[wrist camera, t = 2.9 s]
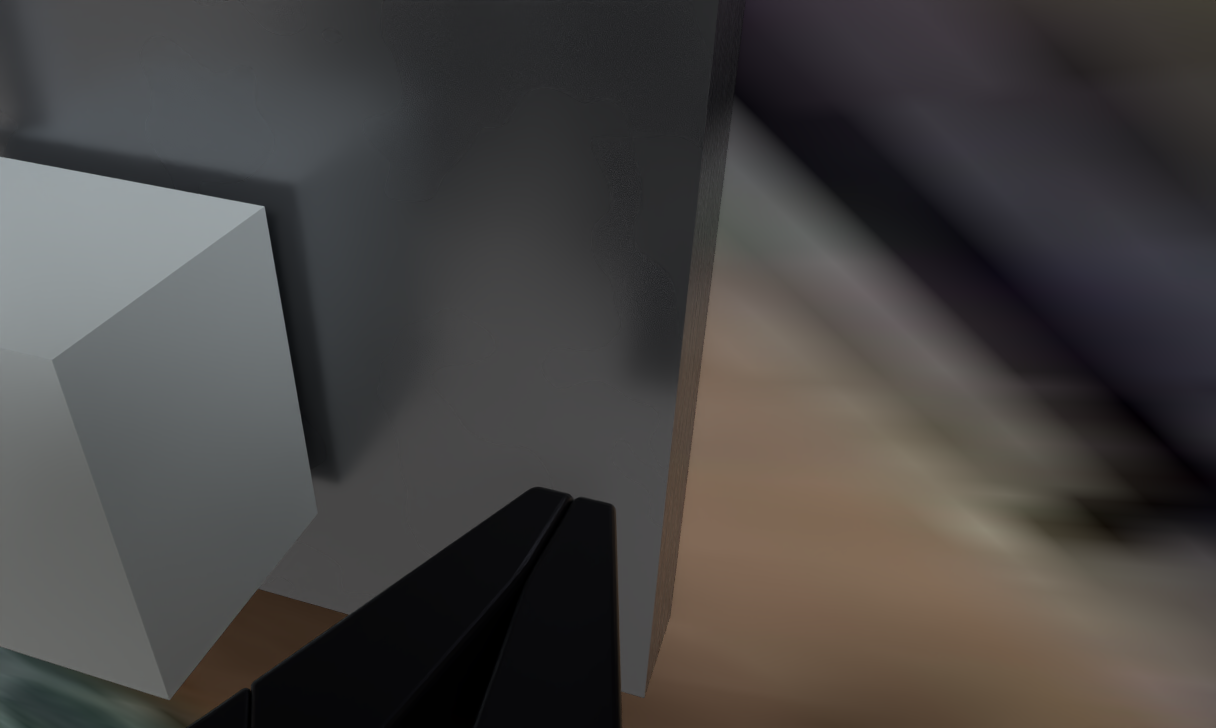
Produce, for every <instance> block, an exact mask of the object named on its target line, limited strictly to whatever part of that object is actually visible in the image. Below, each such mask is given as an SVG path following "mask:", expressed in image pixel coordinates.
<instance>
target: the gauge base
mask: <svg viewBox="0 0 1216 728" xmlns="http://www.w3.org/2000/svg"><path fill="white" fill-rule="evenodd" d="M744 8H745V0H0V157H4V158H10V159H15V160H20V161H26V162H31V163H36V164H42V165H47V166H52V167H57V168H63V169H68V170H73V171H79V172H84V173H89V174H95V175H100V176H105V177H111V178H116V179H121V180H127V181H132V182H137V183H143V184H148V185H153V186H158V187H164V188H169V189H174V190H180V191H185V192H190V193H196V194H201V195H206V196H212V197H217V198H222V199H228V200H233V201H238V202H244V203H249V204H254V205H259V206H264V207H265V213H266V218H267V224H268V230H269V236H270V241H271V247H272V253H273V259H274V264H275V270H276V276H277V282H278V287H279V293H280V299H281V305H282V311H283V316H284V322H285V328H286V334H287V339H288V345H289V351H290V357H291V362H292V368H293V374H294V380H295V385H296V391H297V397H298V403H299V408H300V414H301V420H302V426H303V431H304V437H305V443H306V449H307V454H308V460H309V466H310V472H311V477H312V483H313V489H314V495H315V500H316V506H317V512H318V514H317V515H316V516H315V517H314V519H313V520H312V521H311V523H310V524H309V525H308V526H307V528H306V529H305V530H304V531H303V533H302V534H301V535H300V536H299V538H298V539H297V540H296V541H295V543H294V544H293V545H292V546H291V548H290V549H289V550H288V552H287V553H286V554H285V555H284V557H283V558H282V559H281V560H280V562H279V563H278V564H277V565H276V567H275V568H274V569H273V570H272V572H271V573H270V574H269V575H268V577H267V578H266V579H265V581H264V582H263V583H262V584H261V586H260V587H259V588H258V589H261V590H264V591H268V592H271V593H275V594H278V595H282V596H285V597H289V598H292V599H296V600H299V601H303V602H307V603H310V604H314V605H317V606H321V607H324V608H328V609H331V610H335V611H338V612H342V613H345V614H349V615H350V614H351V613H353V612H354V611H355V610H357V609H358V608H360V607H361V606H363V605H364V604H365V603H367V602H368V601H370V600H371V599H373V598H374V597H375V596H377V595H378V594H380V593H381V592H383V591H384V590H385V589H387V588H388V587H390V586H391V585H393V584H394V583H396V582H397V581H398V580H400V579H401V578H403V577H404V576H406V575H407V574H408V573H410V572H411V571H413V570H414V569H416V568H417V567H418V566H420V565H421V564H423V563H424V562H426V561H427V560H428V559H430V558H431V557H433V556H434V555H436V554H437V553H438V552H440V551H441V550H443V549H444V548H446V547H447V546H448V545H450V544H451V543H453V542H454V541H456V540H457V539H459V538H460V537H461V536H463V535H464V534H466V533H467V532H469V531H470V530H471V529H473V528H474V527H476V526H477V525H479V524H480V523H481V522H483V521H484V520H486V519H487V518H489V517H490V516H491V515H493V514H494V513H496V512H497V511H499V510H500V509H501V508H503V507H504V506H506V505H507V504H509V503H510V502H511V501H513V500H514V499H516V498H517V497H519V496H520V495H521V494H523V493H524V492H526V491H527V490H529V489H531V488H533V487H544V488H548V489H552V490H556V491H561V492H565V493H568V494H570V495H571V496H572V497H573V498H574V499H576V498H578V497H586V498H590V499H594V500H598V501H603V502H607V503H610V504H612V505H614V507H615V509H616V524H617V559H618V595H619V631H620V666H621V692H625V693H628V694H632V695H635V696H639V697H642V698H644V697H645V694H646V691H647V688H648V685H649V682H650V679H651V675H652V672H653V669H654V666H655V663H656V660H657V657H658V653H659V650H660V647H661V644H662V641H663V638H664V634H665V631H666V628H667V625H668V622H669V619H670V614H671V606H672V598H673V590H674V582H675V573H676V565H677V557H678V549H679V541H680V532H681V524H682V516H683V508H684V500H685V491H686V483H687V475H688V467H689V459H690V450H691V442H692V434H693V426H694V418H695V409H696V401H697V393H698V385H699V377H700V368H701V360H702V352H703V344H704V336H705V327H706V319H707V311H708V303H709V295H710V286H711V278H712V270H713V262H714V254H715V245H716V237H717V229H718V221H719V213H720V205H721V196H722V188H723V180H724V172H725V164H726V155H727V147H728V139H729V131H730V123H731V114H732V106H733V98H734V90H735V82H736V73H737V65H738V57H739V49H740V41H741V32H742V24H743V16H744Z"/></svg>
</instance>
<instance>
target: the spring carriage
mask: <svg viewBox="0 0 1216 728" xmlns="http://www.w3.org/2000/svg"><path fill="white" fill-rule="evenodd" d="M317 514H318V512H317V506H316V500H315V495H314V489H313V483H312V477H311V472H310V466H309V460H308V454H307V449H306V443H305V437H304V431H303V426H302V420H301V414H300V408H299V403H298V397H297V391H296V385H295V380H294V374H293V368H292V362H291V357H290V351H289V345H288V339H287V334H286V328H285V322H284V316H283V311H282V305H281V299H280V293H279V287H278V282H277V276H276V270H275V264H274V259H273V253H272V247H271V241H270V236H269V230H268V224H267V218H266V213H265V207H264V206H259V205H254V204H249V203H244V202H238V201H233V200H228V199H222V198H217V197H212V196H206V195H201V194H196V193H190V192H185V191H180V190H174V189H169V188H164V187H158V186H153V185H148V184H143V183H137V182H132V181H127V180H121V179H116V178H111V177H105V176H100V175H95V174H89V173H84V172H79V171H73V170H68V169H63V168H57V167H52V166H47V165H42V164H36V163H31V162H26V161H20V160H15V159H10V158H4V157H0V647H3V648H6V649H10V650H13V651H16V652H19V653H22V654H25V655H28V656H32V657H35V658H38V659H41V660H44V661H47V662H51V663H54V664H57V665H60V666H63V667H66V668H69V669H73V670H76V671H79V672H82V673H85V674H88V675H92V676H95V677H98V678H101V679H104V680H107V681H110V682H114V683H117V684H120V685H123V686H126V687H129V688H132V689H136V690H139V691H142V692H145V693H148V694H151V695H155V696H158V697H161V698H164V699H167V700H170V699H171V698H172V697H173V695H174V694H175V693H176V691H177V690H178V689H179V688H180V686H181V685H182V684H183V683H184V681H185V680H186V679H187V678H188V676H189V675H190V674H191V673H192V671H193V670H194V669H195V668H196V666H197V665H198V664H199V662H200V661H201V660H202V659H203V657H204V656H205V655H206V654H207V652H208V651H209V650H210V649H211V647H212V646H213V645H214V644H215V642H216V641H217V640H218V639H219V637H220V636H221V635H222V633H223V632H224V631H225V630H226V628H227V627H228V626H229V625H230V623H231V622H232V621H233V620H234V618H235V617H236V616H237V615H238V613H239V612H240V611H241V610H242V608H243V607H244V606H245V604H246V603H247V602H248V601H249V599H250V598H251V597H252V596H253V594H254V593H255V592H256V591H257V589H258V588H259V587H260V586H261V584H262V583H263V582H264V581H265V579H266V578H267V577H268V575H269V574H270V573H271V572H272V570H273V569H274V568H275V567H276V565H277V564H278V563H279V562H280V560H281V559H282V558H283V557H284V555H285V554H286V553H287V552H288V550H289V549H290V548H291V546H292V545H293V544H294V543H295V541H296V540H297V539H298V538H299V536H300V535H301V534H302V533H303V531H304V530H305V529H306V528H307V526H308V525H309V524H310V523H311V521H312V520H313V519H314V517H315V516H316V515H317Z"/></svg>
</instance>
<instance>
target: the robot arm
mask: <svg viewBox="0 0 1216 728" xmlns="http://www.w3.org/2000/svg"><path fill="white" fill-rule="evenodd" d="M186 728H622V702H621V666H620V631H619V595H618V559H617V524H616V509H615V507H614V505H612V504H610V503H607V502H603V501H598V500H594V499H590V498H586V497H578V498H576V499H574V498H573V497H572V496H571V495H570V494H568V493H565V492H561V491H556V490H552V489H548V488H544V487H533V488H531V489H529V490H527V491H526V492H524V493H523V494H521V495H520V496H519V497H517V498H516V499H514V500H513V501H511V502H510V503H509V504H507V505H506V506H504V507H503V508H501V509H500V510H499V511H497V512H496V513H494V514H493V515H491V516H490V517H489V518H487V519H486V520H484V521H483V522H481V523H480V524H479V525H477V526H476V527H474V528H473V529H471V530H470V531H469V532H467V533H466V534H464V535H463V536H461V537H460V538H459V539H457V540H456V541H454V542H453V543H451V544H450V545H448V546H447V547H446V548H444V549H443V550H441V551H440V552H438V553H437V554H436V555H434V556H433V557H431V558H430V559H428V560H427V561H426V562H424V563H423V564H421V565H420V566H418V567H417V568H416V569H414V570H413V571H411V572H410V573H408V574H407V575H406V576H404V577H403V578H401V579H400V580H398V581H397V582H396V583H394V584H393V585H391V586H390V587H388V588H387V589H385V590H384V591H383V592H381V593H380V594H378V595H377V596H375V597H374V598H373V599H371V600H370V601H368V602H367V603H365V604H364V605H363V606H361V607H360V608H358V609H357V610H355V611H354V612H353V613H351V614H350V615H348V616H347V617H345V618H344V619H343V620H341V621H340V622H338V623H337V624H335V625H334V626H333V627H331V628H330V629H328V630H327V631H325V632H324V633H323V634H321V635H320V636H318V637H317V638H315V639H314V640H312V641H311V642H310V643H308V644H307V645H305V646H304V647H302V648H301V649H300V650H298V651H297V652H295V653H294V654H292V655H291V656H290V657H288V658H287V659H285V660H284V661H282V662H281V663H280V664H278V665H277V666H275V667H274V668H272V669H271V670H270V671H268V672H267V673H265V674H264V675H262V676H261V677H260V678H258V679H257V680H255V681H254V682H253V683H252V685H251V691H250V690H249V689H248V688H244V689H242V690H240V691H239V692H237V693H236V694H235V695H233V696H232V697H230V698H229V699H227V700H226V701H225V702H223V703H222V704H220V705H219V706H217V707H216V708H215V709H213V710H212V711H210V712H209V713H207V714H206V715H204V716H203V717H201V718H200V719H198V720H197V721H195V722H194V723H192V724H191V725H189V726H188V727H186Z"/></svg>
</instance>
